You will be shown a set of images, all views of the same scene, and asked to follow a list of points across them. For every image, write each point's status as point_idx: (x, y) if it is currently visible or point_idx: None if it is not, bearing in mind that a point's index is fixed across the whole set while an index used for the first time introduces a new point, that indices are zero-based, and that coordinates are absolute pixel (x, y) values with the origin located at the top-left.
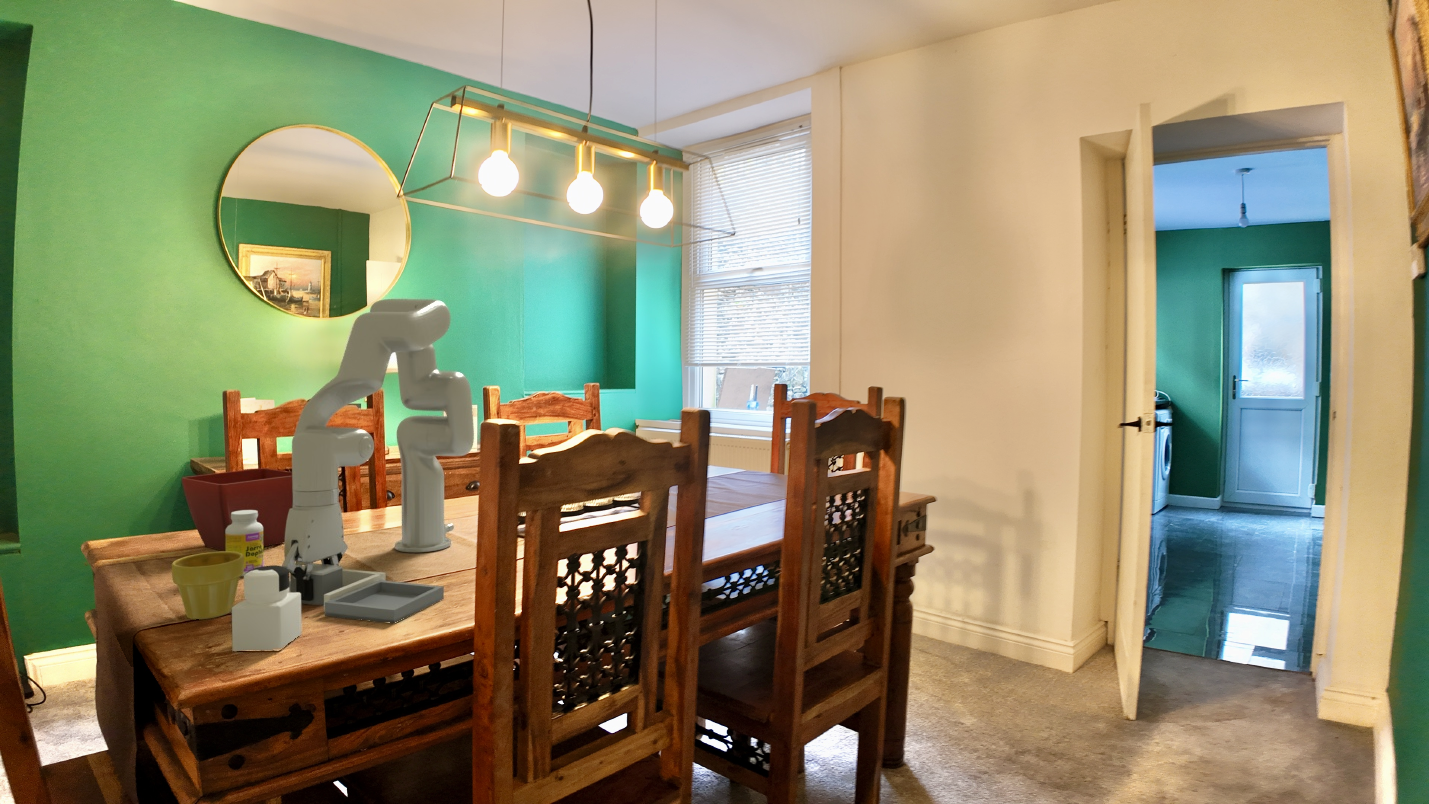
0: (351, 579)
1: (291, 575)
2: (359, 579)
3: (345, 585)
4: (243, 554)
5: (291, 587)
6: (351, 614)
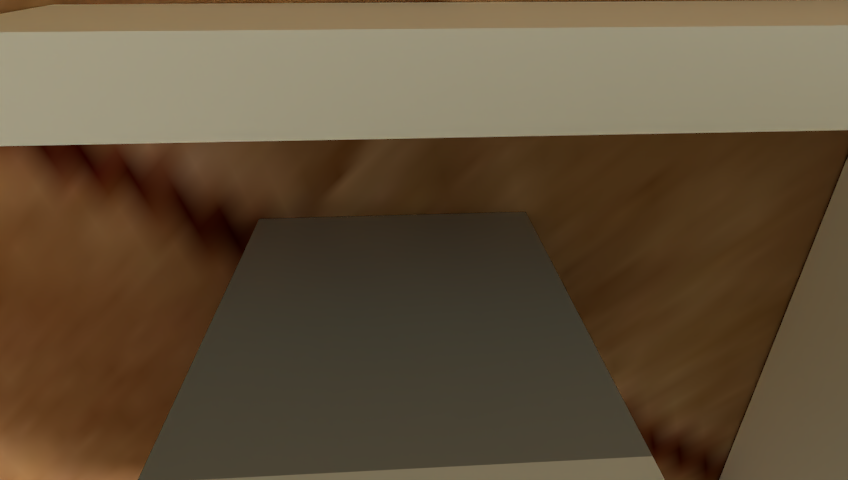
0: (810, 403)
1: (168, 444)
2: (788, 467)
3: (790, 310)
4: None
5: (222, 316)
6: None
